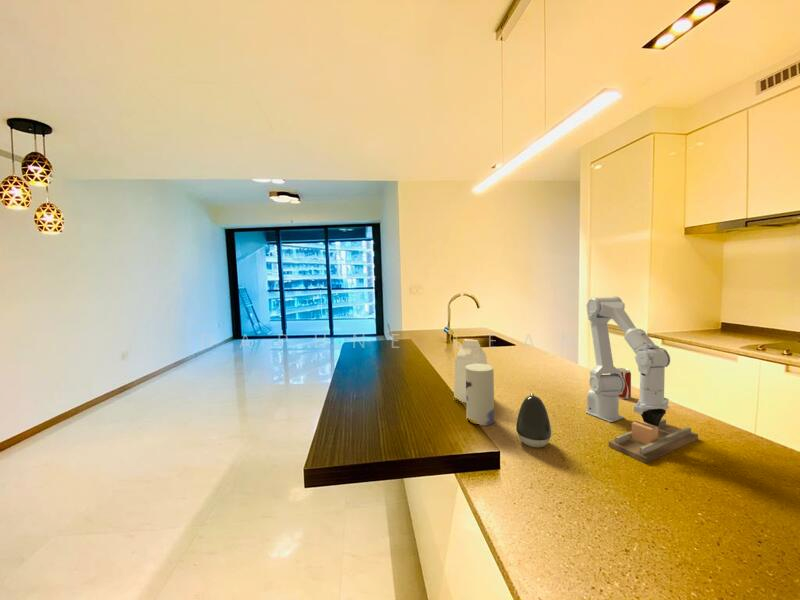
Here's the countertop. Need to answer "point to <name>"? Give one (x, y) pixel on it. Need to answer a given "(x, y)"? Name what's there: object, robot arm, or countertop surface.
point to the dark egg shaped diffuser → (533, 422)
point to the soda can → (626, 383)
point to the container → (480, 393)
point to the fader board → (654, 442)
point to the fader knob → (644, 432)
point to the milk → (466, 356)
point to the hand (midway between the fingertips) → (651, 431)
